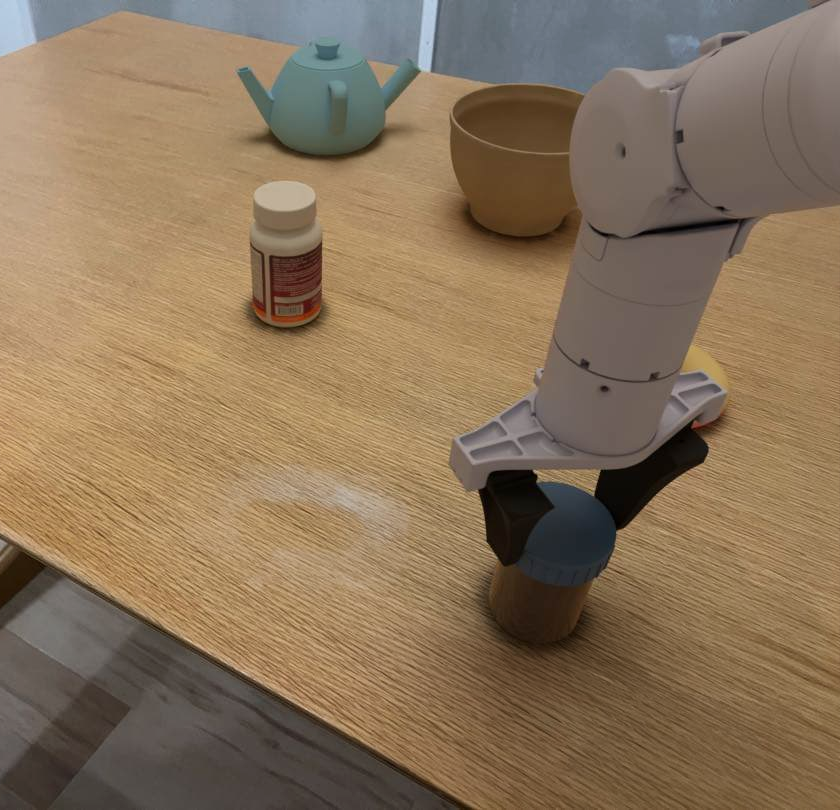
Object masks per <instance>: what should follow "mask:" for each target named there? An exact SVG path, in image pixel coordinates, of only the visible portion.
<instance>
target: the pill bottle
mask: <svg viewBox="0 0 840 810" xmlns="http://www.w3.org/2000/svg"><path fill="white" fill-rule="evenodd" d="M252 203H253V204H252V205H253V207H252V210H253V211H252V213H253V218H254V220H253V221H252V223H251V224H250V227H249V232H248V233H249V237H248V238H249V253H250V272H251V274H250V275H251V290H252V291H251V292H252V293H251V294H252V307H253V311H254V313H255V315H256V316H257V317H258V319H260V320H261V321H262V322H264V323H266V324H268V325H270V326H273V327H278V328H294V327H300V326H302V325H306V324H308V323H310V322H311V321H313V320H314V319H315V318H316V317H318V316H319V314H320V312H321V310H322V309H321V308H322V302H323V300H322V299H323V298H322V297H323V293H322V292H323V290H322V288H323V239H324V238H323V227H322V225H321V223H320V221H319V220H318V219H317V218H316V217H317V212H318V210H317V194H316V191H315V190H314V189H313V188H312V187H311V186H309V185H308V184H306V183H304V182H299V181H294V180H278V181H277V180H276V181H272V182H267V183H265V184H263V185H261V186H259V187H258V188H256V190H255V191H254V193H253V197H252Z"/></svg>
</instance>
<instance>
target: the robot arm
mask: <svg viewBox="0 0 840 810" xmlns="http://www.w3.org/2000/svg"><path fill="white" fill-rule="evenodd" d="M698 49H699V50H698V51H699V52H698V53H699V56H698V57H696V58H694V59H691V60H690V61H689V62H687V63H686V64H685V65H683V66H682V67H677V68H667V69H666V68H665V69H656V70H643V69H640V68H634V67H615V68H612V69H610V70H609V71H608V72H607V73H606V74H605V76H604V77H603V78H602V79H601V80H599V81H597V82H596V83H594V85H593V86H591V88H590V89H589V90H588V91H587V92H586V93H585V94H586V95H585V97H584V99H583V100H582V102H581V104H580V106H579V109H578V111H577V114H576V117H575V120H574V123H573V127H572V132H571V139H570V149H569V168H570V177H571V183H572V188H573V192H574V196H575V199H576V202H577V204H578V205H577V207H578V209H579V211H580V212H581V215H582V217H581V221H580V224H579V229H578V232H577V235H576V240H575V244H574V248H573V252H572V254H571V255H572V256H571V260H570V264H569V267H568V271H567V276H566V279H565V284H564V287H563V291H562V295H561V298H560V302H559V307H558V309H557V314H556V318H555V322H554V327H553V329H552V330H553V331H552V334H551V338H550V343H549V346H548V350H547V354H546V358H545V362H544V365H543V366H541V367H538V368H536V370H535V372H534V377H533V380H532V381H533V383H534V385H535V386H536V388H534V389H533V390H532V391H530V392H528V393H527V394H525V395H524V396H523V397H521V398H520V399H518V400H517V401H515V402H514V403H513V404H511V405H510V406H508V407H506V408H504V410H502V411H500V412H499V413H498V414H496V415H495V416H493V417H492V418H490V419H489V420H487V421H486V422H484V423H482V424H481V425H479V426H478V427H476V428H474V429H472V430H470V431H467V432H464V433H462V434H458V435H455V436H453V437H452V441H451V446H450V452H449V457H448V463H447V464H448V466H449V468H450V470H451V471H452V473H453V475H454V476H455V477H456V479H457V480H458V482H459V483H460V484H461V486H462V487H463V488H464V490H465V492H467V493H471V492H474V491H477V492H478V496H479V498H480V502H481V506H482V511H483V517H484V525H485V539H486V543H487V545H488V547H490V549H491V550H492V552H493V553H494V555H495V556H496V557H497V560H498V559H499V561H500V562H501V564H502V565H503V566H505V567H507V566H510V565H513V564H516V563H517V561H518V560H519V559H520V557H521V556H522V554H523V551H524V549H525V546H526V543H527V540H528V538H529V535H530V533H531V532H532V530H533V528H534V527H535V525H536V524H537V523H538V522H539V520H540V519H541V518H542V517H543V516H544V515H545V514H546V513H548V512H549V511H551V510H552V509H554V508H556V507H555V506H554V505H553V504H552V502H551V501H550V500H549V499H548V497H547V496H546V495H545V494H544V492H543V491H542V490H541V488H540V487H539V486H538V485H537V483H536V482H538V479H539V475H538V474H537V473H535V472H534V471H536V470H537V471H540V470H542V471H543V470H545V471H547V470H549V471H553V470H554V471H555V470H556V471H557V470H559V471H562V470H566V471H567V470H568V471H569V470H575V471H576V470H577V471H578V470H579V471H581V470H588V471H590V470H596V471H597V470H598V471H599V475H598V478H597V481H596V484H595V489H594V493H593V496H594V497H595V498H596V499H598V500H599V501H600V502H601V503H602V504H603V505H604V506H605V507H606V508H607V510H608V511H609V512H610V514H611V516H612V518H613V520H614V522H615V526H616V532H619V531H621V530H624V529H626V527H628V526H629V524H630V523H632V521H634V519H635V518H636V517H637V516H638V515H639V514H640V513H641V511H643V509H644V508H645V507H646V506H647V505H648V504H649V503H651V501H652V500H653V499H654V498H655V497H656V496H657V495H658V494H659V493H660V492H661V491H662V490H663V489H665V487H667V486H668V485H670V484H671V483H673V481H675V480H676V479H678V478H679V477H680V476H682V475H684V474H685V473H687V472H688V471H690V470H692V469H694V468H696V467H698V466H700V465H703V464H704V463H705V462H706V461H705V460H706V458H707V456H708V454H709V451H710V449H709V445H708V443H707V442H706V440H705V439H704V438H703V437H702V436H700V435H699V433H697V431H695V430H694V428H691V427H692V425H693V423H694V420H696V421H697V422H698V423H706V422H709V421H712V422H713V421H716V420H717V419H718V417H717V416H718V414H719V412H720V410H721V408H722V406H723V403H724V401H725V399H726V397H727V395H728V391H727V390H725V389H724V388H723V387H722V386H721V385H720V384H719V383H717V382H716V381H715V380H714V379H713V378H712V377H710V376H709V375H708V374H707V373H706V372H705V371H704V370H702V369H700V370H696V371H692V372H685V373H680V371H681V369H682V366H683V363H684V360H685V358H686V355H687V353H688V350H689V348H690V345H691V344H692V343H693V340H694V339H695V335H696V333H697V330H698V328H699V325H700V323H701V320H702V318H703V315H704V313H705V310H706V308H707V305H708V303H709V300H710V298H711V295H712V293H713V291H714V288H715V286H716V284H717V281H718V280H719V279H718V278H719V276H720V275H721V274H720V273H721V271H722V269H723V266H724V264H725V263H726V262H728V261H729V259H733V258H734V257H735V255H740V254H741V255H742V252H743V249H744V247H745V245H746V242H747V240H748V238H749V235H750V233H751V231H752V230H753V228H754V227H755V226H756V225H757V224H758V223H759V222H760V221H762V220H764V219H765V218H767V217H769V216H771V215H780V214H786V213H794V212H801V211H809V210H816V209H825V208H831V207H838V206H839V207H840V0H807V10H805V11H802V12H799V13H797V14H795V15H793V16H791V17H789V18H786V19H784V20H782V21H779V22H777V23H775V24H772V25H770V26H768V27H765V28H763V29H761V30H759V31H756V32H753V33H750V32H749V31H747V30H739V31H729V32H727V31H726V32H720V33H718V34H716V35H713V36H712V37H709V38H707V39H705V40H703V41H702V42H701V44H700V45H699V48H698Z"/></svg>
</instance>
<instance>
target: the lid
mask: <svg viewBox="0 0 840 810" xmlns="http://www.w3.org/2000/svg"><path fill="white" fill-rule="evenodd" d="M536 483H537V485H538V486H539V487H540V488H541V490H542V491H543V492H544V494H545V495H546V496H547V497H548V499H549V500H550V501H551V502H552V504H553V505H554V506H555V507H556V508H554V509H552V510H551V511H549V512H548V513H546V514H545V515H544V516H543V517H542V518H541V519H540V520H539V522H538V523H537V524H536V525H535V527H534V528H533V530H532V532H531V533H530V535H529V538H528V540H527V543H526V546H525V549H524V551H523V554H522V556H521V557H520V559H519V560H518V561H517V563H516V564H514V565H515V567H517V568H518V569H519V570H520V571H522V572H523V573H525V574H526V575H527V576H530V577H531V578H533V579H536V580H538V581H541V582H542V583H543V582H544V583H547V584H551V585H556V586H574V585H580V584H583V583H585V584H586V583H587V582H589V581H591V580H592V579H594V580H595V579H598V578H599V576H600V575H601V573H603V571H605V570H606V569H607V567H608V564H609V563H610V560H611V558H612V556H613V553H614V551H615V548H616V541H617V536H618V535H617V531H616V526H615V522H614V520H613V518H612V516H611V514H610V512H609V511H608V510H607V508H606V507H605V506H604V505H603V504H602V503H601V502H600V501H599V500H598V499H596V498H595V497H594V495H592V494H591V493H590V492H587V491H586V490H584V489H581V488H580V487H578V486H575V485H572V484H568V483H564V482H559V481H537V482H536Z"/></svg>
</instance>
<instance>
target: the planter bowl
mask: <svg viewBox="0 0 840 810" xmlns="http://www.w3.org/2000/svg"><path fill="white" fill-rule="evenodd" d="M586 94H587V93H582V92H579V91H577V90H573V89H569V88H565V87H561V86H556V85H549V84H543V83H532V82H531V83H529V82H519V83H518V82H510V83H497V84H491V85H487V86H483V87H478V88H475V89H473V90H470V91H468V92H465V93H463V94H462V95H460V96H459V97H457V98H456V99H455V100H454V101H453V102H452V104H451V106H450V108H449V125H450V126H449V127H450V132H449V147H450V148H449V149H450V150H449V151H450V159H451V163H452V168H453V172H454V175H455V178H456V181H457V183H458V185H459V187H460V189H461V191H462V193H463V195H464V196H465V198H466V199H467V201H468V202H469V211H470V214H471V216H472V218H473V219H474V220H475V221H476V222H477V223H478V224H479V225H481V226H483V227H484V228H486V229H488V230H490V231H493V232H496V233H498V234H502V235H506V236H512V237H526V238H527V237H535V236H536V237H538V236H541V235H545V234H548V233H551V232H553V231H554V230H556V229H557V228H559V226H560V225H561V224H562V222H563V220H564V218H565V216H566V215H568V214H570V212H572V211H573V210H574V209H575V208H577V207H578V204H577V202H576V199H575V196H574V192H573V188H572V183H571V177H570V168H569V149H570V139H571V132H572V127H573V123H574V120H575V117H576V114H577V111H578V109H579V106H580V104H581V102H582V100H583V99H584V97H585V95H586Z"/></svg>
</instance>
